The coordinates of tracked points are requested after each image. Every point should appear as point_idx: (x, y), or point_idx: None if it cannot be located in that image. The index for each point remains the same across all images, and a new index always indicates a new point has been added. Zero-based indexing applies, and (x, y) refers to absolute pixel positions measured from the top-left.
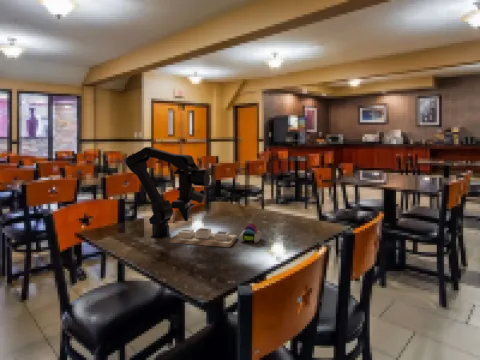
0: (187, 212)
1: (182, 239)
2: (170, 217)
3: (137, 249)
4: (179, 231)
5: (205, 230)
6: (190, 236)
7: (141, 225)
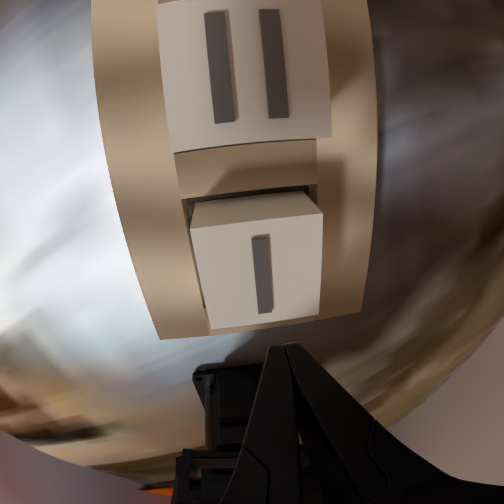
0: (406, 446)
1: (361, 230)
2: (182, 466)
3: (439, 346)
4: (302, 314)
5: (281, 28)
6: (285, 199)
7: (146, 462)
